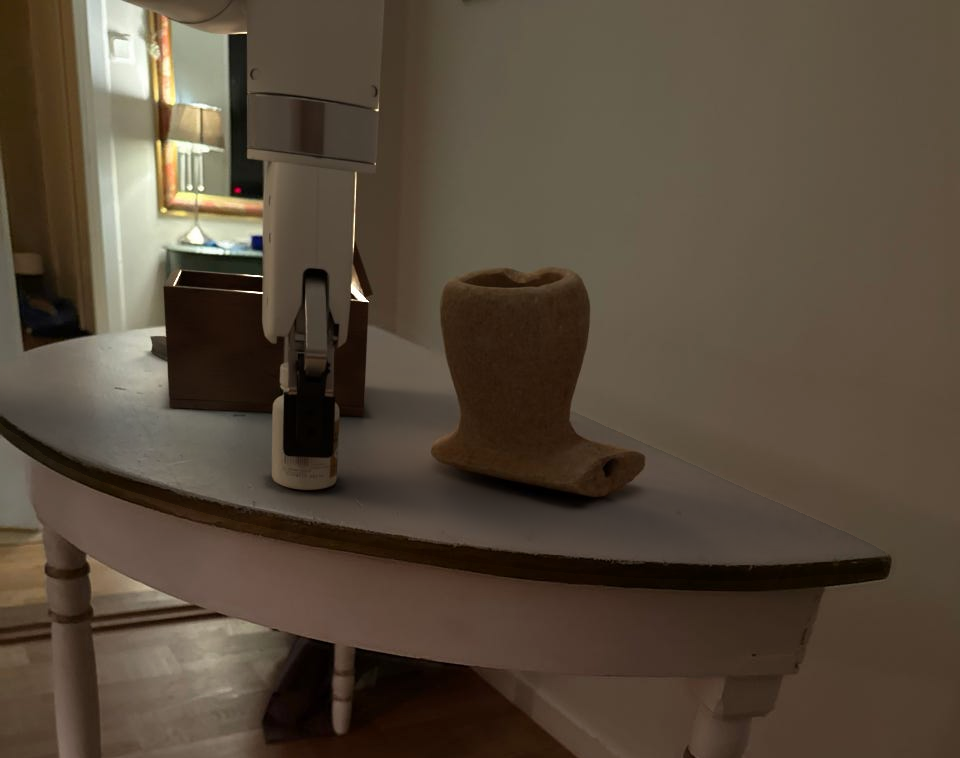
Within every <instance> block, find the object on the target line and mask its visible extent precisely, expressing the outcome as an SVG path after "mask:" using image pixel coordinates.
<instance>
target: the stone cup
mask: <svg viewBox="0 0 960 758" xmlns="http://www.w3.org/2000/svg"><path fill="white" fill-rule="evenodd" d="M439 319H440V321H439V323H440V329H441V335H442V342H443V348H444V354H445V358H446V363H447V367H448V370H449V374H450V377H451V380H452V383H453V384H452V385H453V387H454V391H455V395H456V397H457V401H458V402H457V403H458V406H459V412H460V414H459V420H458V425H457V427H456V428H455V430H454V431H452V432H450V433H448V434H446V435H444V436H442V437H440V438H439V439H437V440H436V441H435V442H433V444H432V445H431V447H430V454H431V456H432V458H434V459H435V460H436V461H437V462H439V463H442V464H445V465H448V466H451V467H454V468H457V469H460V470H464V471H467V472H471V473H475V474H481V475H485V476H489V477H493V478H497V479H502V480H505V481H506V480H507V481H511V482H515V483H521V484H526V485H531V486H535V487H541V488H545V489H550V490H555V491H561V492H565V493H571V494H575V495H576V494H577V495H581V496H584V497H585V496H586V497H594V498H599V497H604V496H606V495H609V494H612V493H614V492H616V491H618V490H620V489H622V488H624V487H625V486H626V485H627V484H629V483H631V482H633V481H634V479H635V478H636V477H637V476H638V475H640V474H641V473H642V472H643V471H644V469H645V466H646V455H645V454H643V453H641V452H640V451H637V450H633V449H628V448H624V447H620V446H615V445H611V444H609V443H608V444H607V443H604V442H600V441H596V440H591V439H589V438H586V437H584V436H582V435H581V434H579V433H577V432H576V429H574V427H573V426H572V423H571V419H570V417H571V408H572V402H573V398H574V394H575V391H576V387H577V384H578V380H579V377H580V374H581V372H582V366H583V363H584V359H585V355H586V351H587V347H588V341H589V333H590V324H591V322H590V321H591V302H590V297H589V292H588V290H587V288H586V286H585V283H584V281H583V279H582V277H581V276H580V275H579V274H578V273H577V272H575V271H573V270H572V269H569V268H562V267H558V266H544V267H541V268H539V269H538V270H534V271H531V272H527V273H526V272H523V271H519V270H516V269H513V268H508V267H493V268H492V267H491V268H484V269H479V270H473V271H469V272H466V273H464V274H461V275H456V276H453V277H452V278H450V279H449V280H448V282H446V284H445V285H444V287H443V290H442V292H441V296H440V303H439Z"/></svg>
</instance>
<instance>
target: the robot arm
mask: <svg viewBox="0 0 960 758" xmlns="http://www.w3.org/2000/svg"><path fill="white" fill-rule="evenodd" d="M121 1H123V2H125V3H126V4H127V3H128V4H130V5H133V6H135V7H138V8H140V9H143V10H146V11H147V10H148V11H150V12H153V13H156V14H158V15H161V16H163V17H165V18H167V19H168V20H170V21H173V22H176V23H179V24H181V25H183V26H186V27H188V28H191V29H194V30H197V31H200V32H205V33H209V34H215V35H216V34H217V35H238V34H246V89H247V90H246V92H247V95H246V107H247V108H246V121H247V122H246V126H247V127H246V143H247V144H246V148H247V149H246V150H247V151H246V158H247V159H249V160H256V161H264V162H266V164H265V173H264V174H265V175H264V185H263V186H264V187H263V201H262V202H263V204H262V276H263V286H262V323H263V330H264V335H265V337H266V338H267V339H268V340H269V341H270V342H271V343H274V344H276V343H277V336H283V337H284V350H283V364H284V363H288V392H284V390H283V389H282V388H281V387H280V396H282V395H283V394H284V405H283V452H284V454H285V455H287V456H292V457H315V458H329V457H331V456H332V455H333V447H334V421H335V395H333V381H334V346H335V348H338V347H340V346H342V345H343V344H344V343H345V342H346V339H347V332H348V323H349V311H350V299H351V285H352V268H353V248H354V238H355V225H356V223H355V222H356V197H357V196H356V193H357V192H356V191H357V173H361V174H369V175H376V172H377V171H376V168H377V166H376V164H377V152H378V135H379V134H378V133H379V115H380V114H379V109H380V93H381V92H380V90H381V70H382V56H383V55H382V54H383V37H384V36H383V35H384V21H385V19H384V17H385V0H121ZM352 286H353V285H352ZM297 375H298V376H297ZM280 386H281V383H280Z"/></svg>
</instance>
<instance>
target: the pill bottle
mask: <svg viewBox="0 0 960 758" xmlns="http://www.w3.org/2000/svg"><path fill="white" fill-rule="evenodd" d="M297 376H298V375H297ZM280 383H281V386H280V387H281V388H282V389H283V390H284V392H288V363H284V364H282V365H281V367H280ZM283 405H284V394H283V395H282V396H280V397H278V398H277V399H276V400H275V401H274V403H273V412H271V413H272V416H271V419H272V422H271V423H272V426H271V427H272V428H271V440H272V442H271V477H272V479H273V481H274V482H275V483H276V484H278V485H280V486H282V487H286V488H289V489H293V490H300V491H314V490H322V489H323V490H324V489H327V488H330V487H332V486H334V484H336V481H337V479H338V460H339V459H338V456H339V455H338V454H339V434H340V415H339V407H338V405H337V404H336V403H335V421H334V447H333V455H332V456H331V457H329V458H315V457H292V456H287V455H285V454H284V452H283Z"/></svg>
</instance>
